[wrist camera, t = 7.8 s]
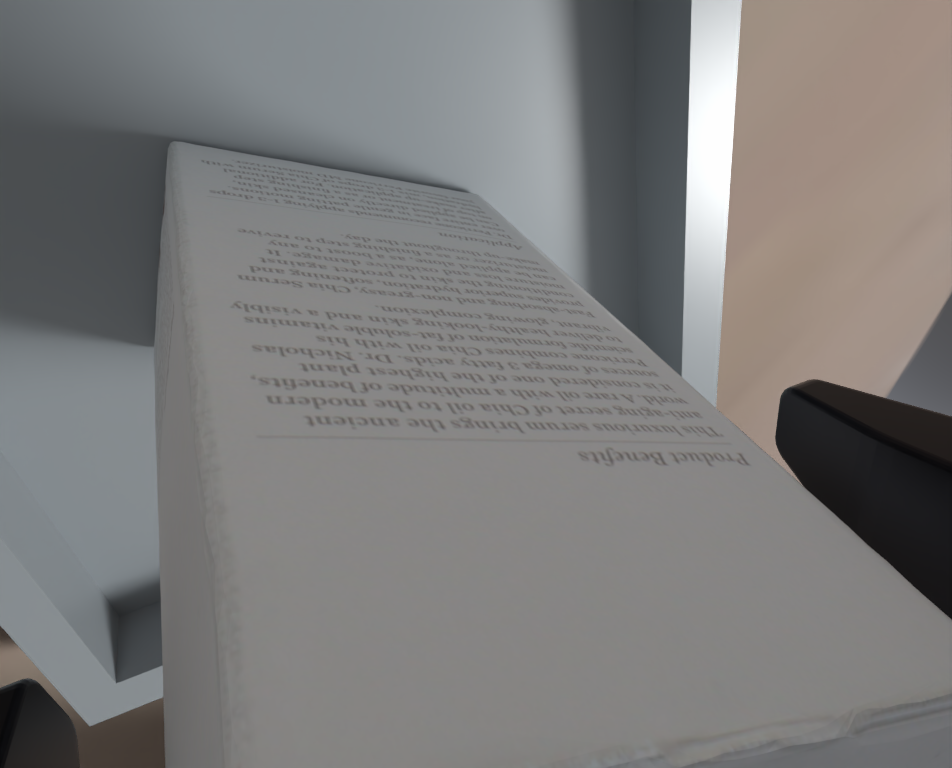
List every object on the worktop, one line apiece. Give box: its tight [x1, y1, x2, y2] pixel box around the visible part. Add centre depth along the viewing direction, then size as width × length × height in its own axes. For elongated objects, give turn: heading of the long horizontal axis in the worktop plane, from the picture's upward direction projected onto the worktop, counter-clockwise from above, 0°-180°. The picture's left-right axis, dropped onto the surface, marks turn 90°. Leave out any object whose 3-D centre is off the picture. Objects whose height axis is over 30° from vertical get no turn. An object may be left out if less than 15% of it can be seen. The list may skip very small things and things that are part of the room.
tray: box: [0, 0, 742, 726], centre depth 14 cm, size 16×16×2 cm
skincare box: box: [154, 141, 952, 768], centre depth 10 cm, size 6×4×12 cm
